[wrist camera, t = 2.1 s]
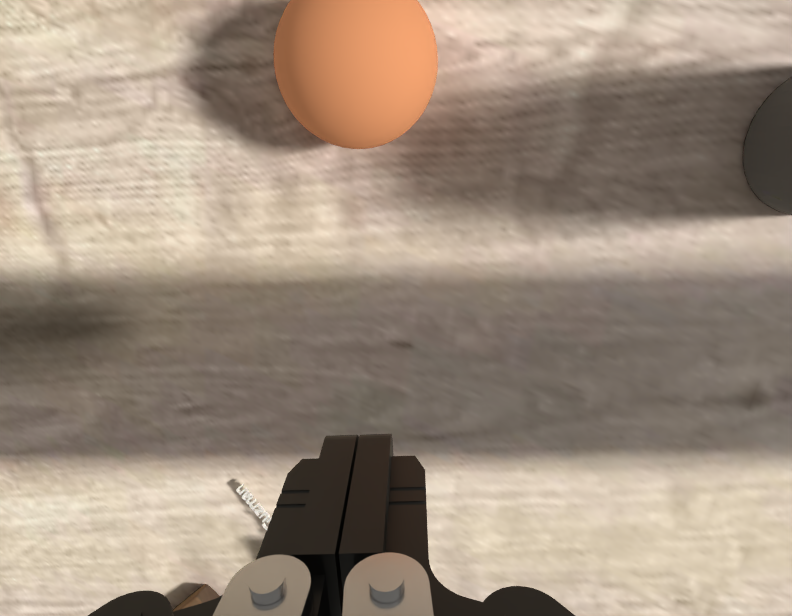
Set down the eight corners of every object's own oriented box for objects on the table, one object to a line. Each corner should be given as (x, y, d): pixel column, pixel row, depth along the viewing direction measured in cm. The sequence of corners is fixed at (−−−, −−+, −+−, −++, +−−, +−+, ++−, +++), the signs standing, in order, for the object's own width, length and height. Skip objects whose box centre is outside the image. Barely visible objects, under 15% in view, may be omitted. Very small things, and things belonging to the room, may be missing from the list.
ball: (300, 151, 21) (266, 155, 16) (284, -3, 19) (239, -54, 14) (435, 143, 21) (445, 146, 16) (430, -12, 19) (441, -67, 14)
